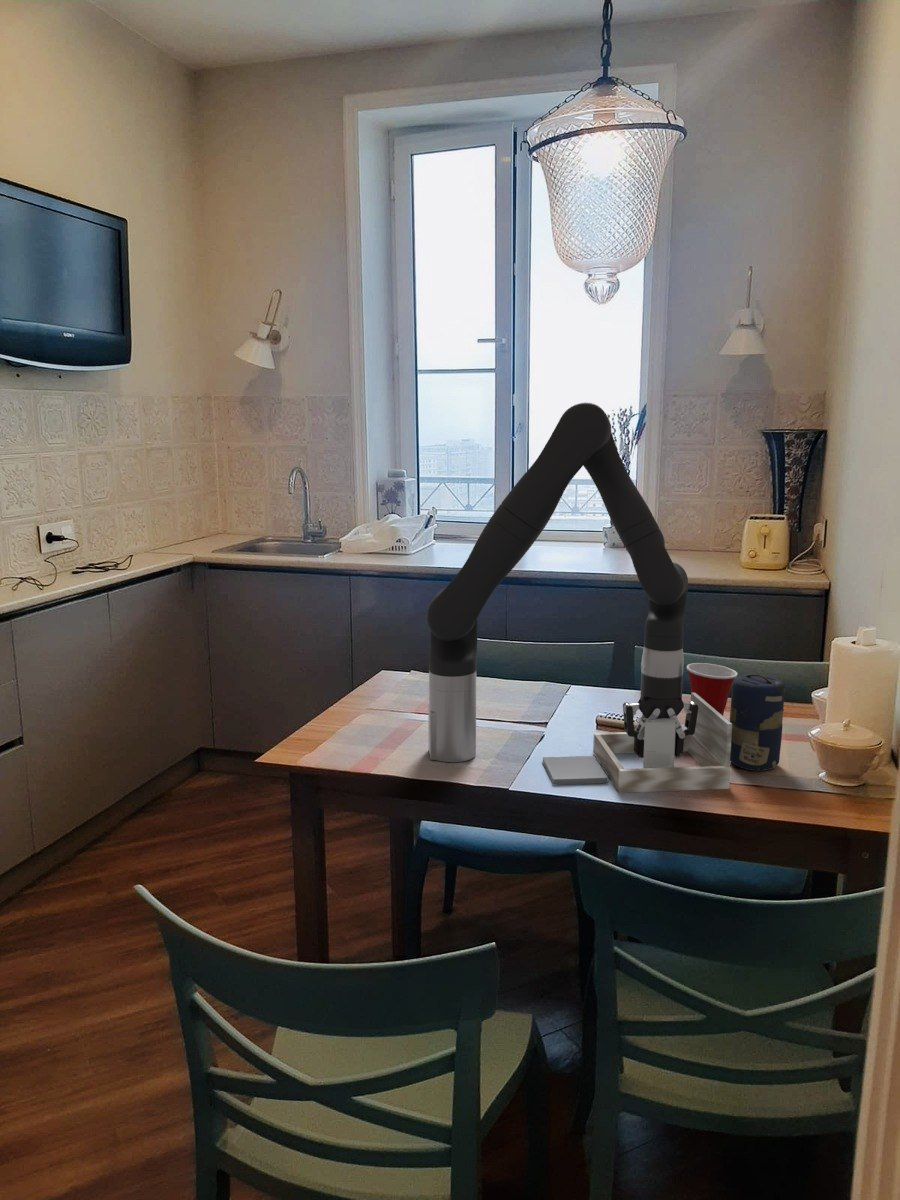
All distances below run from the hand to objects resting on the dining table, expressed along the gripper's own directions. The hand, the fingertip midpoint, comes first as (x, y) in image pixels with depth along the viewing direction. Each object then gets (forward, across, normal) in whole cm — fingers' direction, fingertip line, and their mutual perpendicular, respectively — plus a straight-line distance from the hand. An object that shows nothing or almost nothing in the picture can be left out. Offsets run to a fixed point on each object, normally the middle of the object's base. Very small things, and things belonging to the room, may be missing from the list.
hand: (658, 755), depth 169 cm
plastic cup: (+3, +20, +27) cm, 34 cm away
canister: (+3, +19, +1) cm, 19 cm away
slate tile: (+3, -16, 0) cm, 16 cm away
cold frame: (+3, 0, 0) cm, 3 cm away
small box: (+3, 0, 0) cm, 3 cm away
